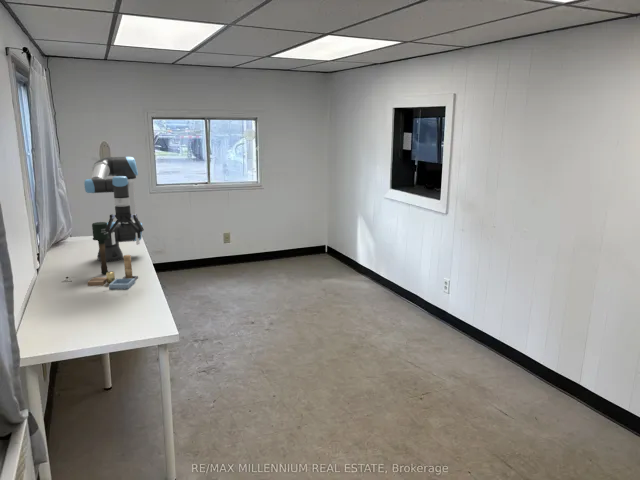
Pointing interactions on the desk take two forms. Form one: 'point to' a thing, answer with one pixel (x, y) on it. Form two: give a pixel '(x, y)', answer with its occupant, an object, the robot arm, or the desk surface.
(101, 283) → the flat cardboard box
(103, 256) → the stick grenade
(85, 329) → the desk surface
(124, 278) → the holder
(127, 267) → the dowel
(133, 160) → the robot arm
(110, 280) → the cylinder
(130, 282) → the tray
